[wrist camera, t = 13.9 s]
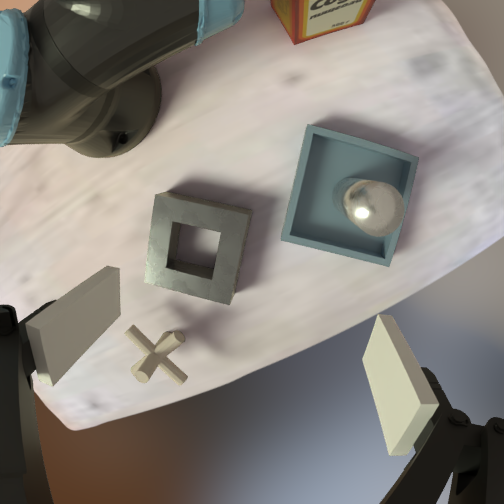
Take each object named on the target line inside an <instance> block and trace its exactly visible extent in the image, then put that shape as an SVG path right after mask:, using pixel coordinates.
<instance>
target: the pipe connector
mask: <svg viewBox="0 0 504 504" xmlns="http://www.w3.org/2000/svg"><path fill="white" fill-rule="evenodd" d="M124 334H125V335H126V336H127V337H128V338H129V339H130V340H131V341H132V342H133V343H134V344H135V345H136V346H137V347H138V348H139V349H140V350H141V351H142V352H143V353H144V354H145V355H146V356H144V357H143V358H142V359H141V360H140V361H138V362H137V363H136V364H135V365H134V366H132V367H131V373H132V374H133V375H134V376H135V377H136V379H137V380H138V381H139V382H141V383H147V382H148V381H149V379H150V377H151V376H152V374H153V373H154V371H155V369H156V368H157V366H158V367H159V368H160V369H161V370H162V371H163V372H165V373H166V374H167V375H168V376H169V377H170V378H171V379H172V380H173V381H174V382H176V383H177V384H178V385H179V386H180V385H182V384H183V383H184V382H185V381H186V379H187V378H188V376H187V375H186V374H185V373H184V372H183V371H181V370H180V369H179V368H178V367H177V366H176V365H175V364H174V363H173V362H172V361H171V360H170V359H168V358H167V357H166V356H167V355H168V354H170V353H171V352H172V351H173V350H175V349H176V348H177V347H178V346H180V345H181V344H182V343H183V342H185V338H184V335H183V334H182V333H181V332H180V331H177V330H176V331H174V332H173V333H170V332H165V333H163V335H162V336H161V338H160V339H159V340H158V342H157V343H156V345H154V344H153V343H152V342H151V341H150V340H149V339H148V338H147V337H146V336H145V335H144V334H143V333H142V332H141V331H140V330H139V329H138V328H137V327H136V326H135V325H134V324H133V325H132V326H131V327H130V328H129V329H128V330H127V331H126V332H125V333H124Z"/></svg>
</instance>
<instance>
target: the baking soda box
mask: <svg viewBox="0 0 504 504" xmlns="http://www.w3.org/2000/svg"><path fill="white" fill-rule="evenodd" d="M270 1H271V6H272V8H273V9H274V11H275V13H276V14H277V16H278V18H279V19H280V21H281V23H282V24H283V26H284V28H285V30H286V31H287V33H288V35H289V37H290V38H291V40H292V42H293V44H294V45H296V44H299V43H302V42H305V41H307V40H310V39H313V38H316V37H319V36H322V35H326V34H329V33H332V32H335V31H339V30H342V29H346V28H349V27H353V26H356V25H360V24H363V23H364V21H365V19H366V17H367V15H368V13H369V11H370V10H371V8H372V6H373V4H374V2H375V0H270Z"/></svg>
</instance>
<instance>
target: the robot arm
mask: <svg viewBox="0 0 504 504" xmlns="http://www.w3.org/2000/svg"><path fill="white" fill-rule="evenodd" d="M244 4H245V1H244V0H39V1H38V2H37V3H36V4H34V5H33V6H32V7H31V8H30V9H29V10H28V11H26V12H24V13H22V12H21V10H18V9H15V8H14V9H6V10H4V11H0V147H4V146H6V145H18V144H65V145H67V146H68V147H70V148H72V149H73V150H75V151H77V152H78V153H80V154H82V155H85V156H88V157H93V158H108V157H115V156H118V155H121V154H123V153H125V152H127V151H129V150H131V149H132V148H134V147H135V146H136V145H137V144H138V143H139V142H141V141H142V139H143V138H144V137H145V136H146V135H147V133H148V132H149V131H150V129H151V127H152V126H153V124H154V122H155V120H156V117H157V115H158V112H159V108H160V103H161V83H160V79H159V75H158V73H157V71H156V69H155V67H154V65H155V64H157V63H159V62H161V61H163V60H165V59H167V58H169V57H171V56H173V55H175V54H177V53H179V52H181V51H183V50H185V49H187V48H189V47H191V46H193V45H195V46H197V45H200V44H201V43H202V42H203V40H205V39H207V38H209V37H211V36H213V35H215V34H217V33H219V32H221V31H223V30H225V29H227V28H229V27H231V26H233V25H235V24H236V23H237V22H238V21H239V20H240V18H241V16H242V14H243V11H244ZM120 315H121V312H120V268H115V267H111V266H106V267H104V268H103V269H101V270H100V271H98V272H97V273H96V274H94V275H93V276H91V277H90V278H88V279H87V280H85V281H84V282H82V283H81V284H79V285H78V286H77V287H75V288H74V289H72V290H71V291H69V292H68V293H67V294H65V295H64V296H62V297H61V298H59V299H58V300H53V301H50V302H48V303H45V304H44V305H43V306H41V307H40V308H39V309H37V310H36V311H34V312H33V313H31V314H30V315H29V316H27V317H26V318H24V319H23V320H22V321H20V322H19V323H18V320H17V315H16V310H15V308H14V307H13V306H10V305H0V504H54V503H53V499H52V495H51V491H50V487H49V483H48V479H47V475H46V470H45V466H44V461H43V456H42V450H41V445H40V440H39V433H38V426H37V418H36V410H35V401H34V390H33V380H32V376H31V374H32V373H33V372H34V371H35V370H36V371H37V375H38V378H39V381H41V382H44V383H46V384H48V385H50V386H52V387H53V386H54V385H55V384H56V383H57V382H58V381H59V380H60V379H61V377H62V376H63V375H64V374H65V373H66V372H67V371H68V370H69V369H70V368H71V367H72V366H73V364H74V363H75V362H76V361H77V360H78V359H79V358H80V357H81V356H82V355H83V354H84V353H85V352H86V351H87V350H88V349H89V347H90V346H91V345H92V344H93V343H94V342H95V341H96V340H97V339H98V338H99V337H100V336H101V335H102V334H103V333H104V332H105V331H106V330H107V329H108V328H109V327H110V326H111V325H112V324H113V323H114V322H115V320H116V319H117V318H118V317H119V316H120ZM362 360H363V363H364V367H365V370H366V373H367V377H368V380H369V383H370V387H371V390H372V394H373V397H374V401H375V404H376V408H377V411H378V415H379V419H380V422H381V426H382V430H383V433H384V437H385V441H386V445H387V449H388V453H389V456H399V455H407V454H408V452H409V451H410V450H411V448H412V446H413V445H414V448H415V451H416V454H415V455H414V456H413V458H412V459H411V460H410V462H409V463H408V464H407V466H406V467H405V468H404V471H403V472H402V474H401V475H400V477H399V478H398V480H397V481H396V482H395V484H394V485H393V487H392V488H391V489H390V491H389V492H388V493H387V494H386V496H385V497H384V499H383V500H382V501H381V502H380V504H436V502H437V501H438V499H439V497H440V495H441V493H442V491H443V489H444V487H445V485H446V483H447V481H448V479H449V477H450V475H451V473H452V472H453V478H452V484H451V490H450V495H449V501H448V504H504V419H501V418H498V417H493V418H491V419H490V420H488V422H487V423H486V425H485V426H481V425H475V424H471V421H470V419H469V417H468V416H467V415H466V414H465V413H464V412H462V411H460V410H457V409H453V408H452V407H451V404H450V403H449V401H448V399H447V397H446V395H445V393H444V391H443V390H442V388H441V386H440V384H438V383H439V382H438V380H437V379H436V377H435V375H434V374H433V373H432V372H431V371H430V370H429V369H428V368H424V367H420V365H419V364H418V362H417V360H416V358H415V357H414V354H413V353H412V351H411V349H410V347H409V345H408V344H407V342H406V340H405V338H404V336H403V335H402V333H401V331H400V329H399V327H398V326H397V324H396V322H395V320H394V319H393V317H392V316H389V315H382V314H378V316H377V320H376V322H375V325H374V328H373V331H372V334H371V337H370V340H369V343H368V345H367V348H366V351H365V354H364V357H363V359H362Z"/></svg>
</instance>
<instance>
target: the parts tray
mask: <svg viewBox="0 0 504 504" xmlns="http://www.w3.org/2000/svg"><path fill="white" fill-rule="evenodd" d="M418 160H419V158H418V157H416V156H413V155H410V154H407V153H404V152H401V151H398V150H395V149H392V148H389V147H386V146H383V145H380V144H377V143H374V142H371V141H367V140H364V139H361V138H357V137H354V136H350V135H347V134H343V133H340V132H336V131H332V130H328V129H324V128H321V127H317V126H313V125H307V127H306V130H305V135H304V140H303V144H302V148H301V153H300V157H299V162H298V166H297V170H296V175H295V179H294V183H293V188H292V192H291V196H290V201H289V205H288V209H287V213H286V218H285V222H284V226H283V230H282V234H281V241H286V242H290V243H294V244H298V245H302V246H306V247H311V248H315V249H319V250H323V251H327V252H331V253H335V254H339V255H343V256H347V257H351V258H355V259H359V260H363V261H367V262H371V263H375V264H379V265H383V266H387V267H389V266H390V263H391V260H392V257H393V254H394V251H395V247H396V244H397V241H398V237H399V234H400V231H401V227H402V224H403V220H404V217H405V213H406V209H407V206H408V202H409V198H410V194H411V190H412V186H413V182H414V178H415V173H416V169H417V165H418ZM344 178H358V179H365V180H371V181H378V182H384V183H387V184H390V185H392V186H393V187H395V188H396V189H397V190H398V192H399V193H400V194H401V196H402V198H403V201H404V208H405V211H404V217H403V220H402V222H401V224H400V225H399V227H398V228H397V229H396V230H395V231H394V232H392V233H391V234H389V235H386V236H381V237H376V236H372V235H369V234H367V233H365V232H364V231H363V230H362V229H360V228H359V227H358V226H357V225H355V224H354V223H353V222H352V221H350V220H349V219H348V218H347V217H345V216H344V215H343V214H342V213H340V212H339V211H338V210H337V209H336V208H335V206H334V204H333V201H332V192H333V189H334V187H335V185H336V184H337V183H338V182H339V181H340V180H342V179H344Z"/></svg>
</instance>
